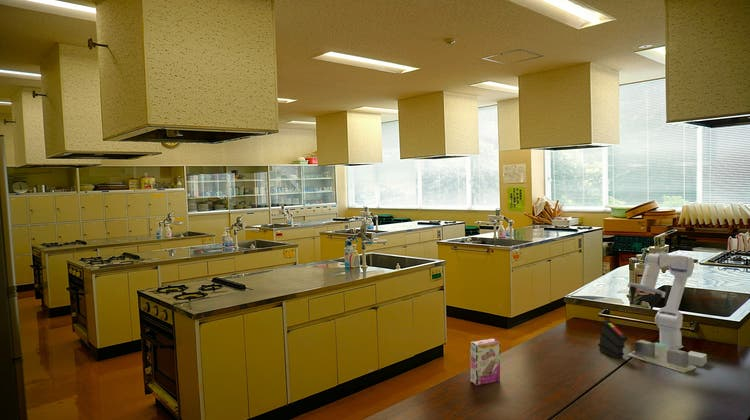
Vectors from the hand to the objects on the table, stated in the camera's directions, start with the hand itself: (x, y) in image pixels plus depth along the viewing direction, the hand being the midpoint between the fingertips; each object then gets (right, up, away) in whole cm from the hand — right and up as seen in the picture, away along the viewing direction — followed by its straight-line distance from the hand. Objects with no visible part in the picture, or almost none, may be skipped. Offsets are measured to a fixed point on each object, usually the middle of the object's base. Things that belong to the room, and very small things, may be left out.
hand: (641, 306), depth 210 cm
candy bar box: (-72, -27, -17) cm, 78 cm away
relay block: (+21, -23, -4) cm, 32 cm away
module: (+11, -23, +5) cm, 26 cm away
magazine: (-9, -24, +8) cm, 26 cm away
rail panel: (+8, -23, -1) cm, 25 cm away
